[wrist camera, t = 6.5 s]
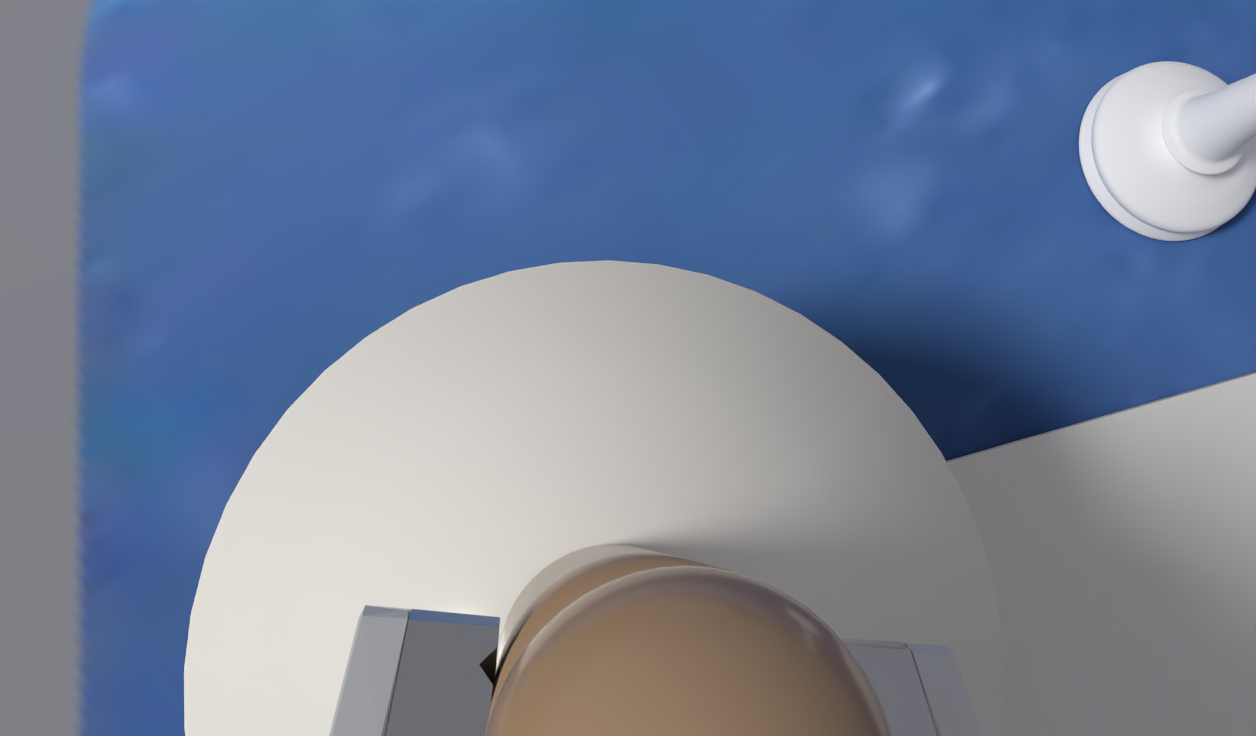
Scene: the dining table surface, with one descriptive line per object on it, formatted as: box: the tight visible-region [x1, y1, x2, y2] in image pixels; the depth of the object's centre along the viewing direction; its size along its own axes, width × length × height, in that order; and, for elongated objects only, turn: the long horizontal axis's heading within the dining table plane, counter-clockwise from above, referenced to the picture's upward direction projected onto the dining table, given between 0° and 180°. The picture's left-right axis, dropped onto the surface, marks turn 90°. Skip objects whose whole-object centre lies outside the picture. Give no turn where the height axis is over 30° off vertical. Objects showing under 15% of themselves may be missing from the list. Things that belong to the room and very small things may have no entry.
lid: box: [184, 260, 1004, 736], centre depth 12 cm, size 13×13×10 cm
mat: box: [946, 372, 1256, 736], centre depth 24 cm, size 14×14×1 cm
